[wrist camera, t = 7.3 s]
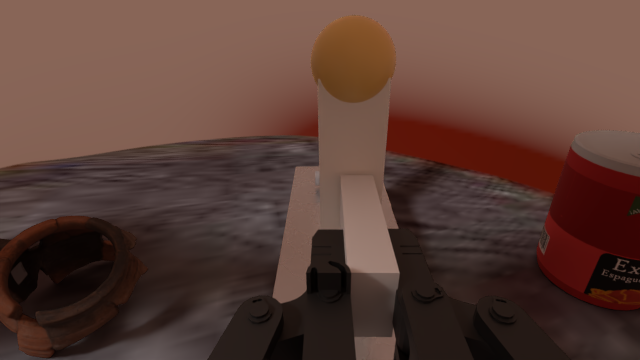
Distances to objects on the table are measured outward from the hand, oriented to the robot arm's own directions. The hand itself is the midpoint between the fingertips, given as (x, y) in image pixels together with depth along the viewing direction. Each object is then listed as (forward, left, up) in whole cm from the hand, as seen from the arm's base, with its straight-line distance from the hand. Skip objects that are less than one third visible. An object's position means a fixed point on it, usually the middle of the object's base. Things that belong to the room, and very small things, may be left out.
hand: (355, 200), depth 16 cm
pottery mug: (-21, +5, -12) cm, 24 cm away
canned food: (+20, +7, -12) cm, 24 cm away
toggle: (0, +1, -6) cm, 6 cm away
